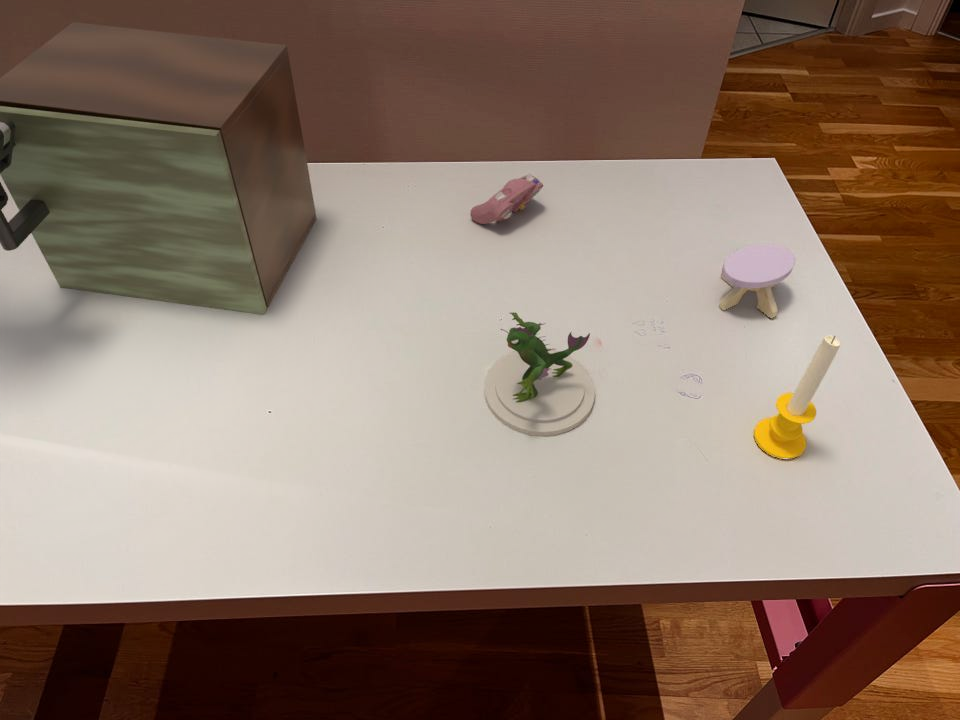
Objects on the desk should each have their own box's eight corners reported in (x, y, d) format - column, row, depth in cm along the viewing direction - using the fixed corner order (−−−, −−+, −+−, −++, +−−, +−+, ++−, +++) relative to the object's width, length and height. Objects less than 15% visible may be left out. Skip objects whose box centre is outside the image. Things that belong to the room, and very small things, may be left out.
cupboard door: (242, 356, 83) (185, 175, 66) (28, 325, 86) (-83, 144, 68) (266, 308, 89) (219, 130, 71) (64, 281, 91) (-30, 102, 74)
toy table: (731, 330, 88) (744, 294, 84) (692, 281, 94) (703, 246, 90) (800, 312, 90) (817, 277, 86) (759, 266, 96) (773, 231, 92)
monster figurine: (480, 354, 85) (482, 287, 77) (583, 350, 85) (596, 283, 78) (488, 439, 77) (492, 373, 69) (603, 433, 77) (618, 368, 70)
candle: (784, 414, 80) (839, 310, 68) (815, 452, 76) (878, 349, 65) (743, 427, 78) (792, 322, 67) (772, 466, 75) (829, 363, 64)
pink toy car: (486, 241, 101) (506, 213, 95) (465, 216, 101) (483, 186, 95) (533, 210, 106) (554, 181, 100) (512, 186, 106) (532, 156, 100)
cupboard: (268, 308, 89) (220, 127, 71) (68, 278, 92) (-26, 97, 74) (317, 219, 101) (287, 45, 83) (138, 195, 104) (73, 21, 86)
